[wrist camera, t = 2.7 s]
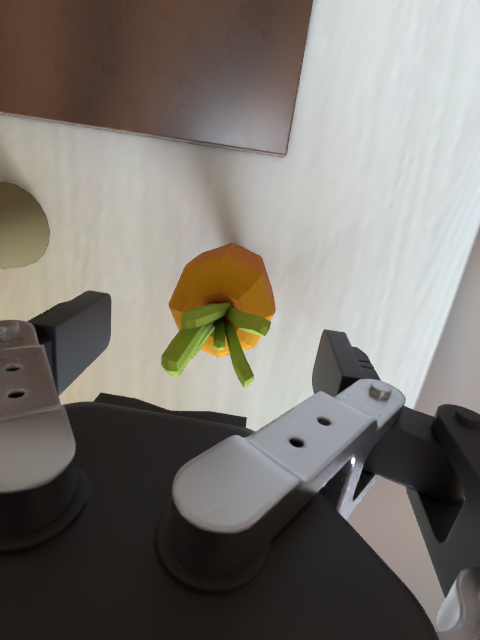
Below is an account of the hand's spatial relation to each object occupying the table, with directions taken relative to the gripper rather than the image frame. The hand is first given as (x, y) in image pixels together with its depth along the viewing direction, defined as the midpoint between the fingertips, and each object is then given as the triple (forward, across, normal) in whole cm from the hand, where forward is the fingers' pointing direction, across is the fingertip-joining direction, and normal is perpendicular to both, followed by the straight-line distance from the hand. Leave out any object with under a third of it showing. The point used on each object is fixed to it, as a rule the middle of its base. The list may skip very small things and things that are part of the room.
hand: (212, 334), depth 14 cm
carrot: (+14, 0, 0) cm, 14 cm away
